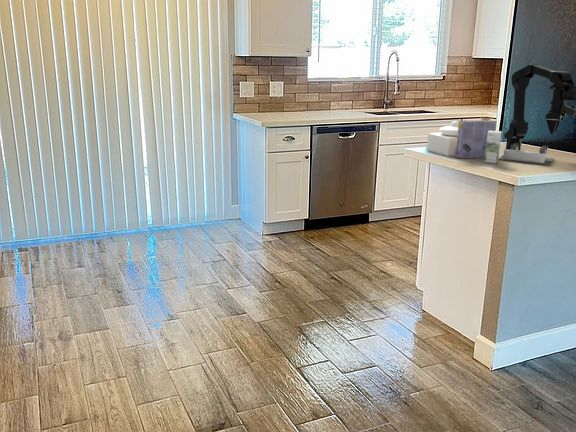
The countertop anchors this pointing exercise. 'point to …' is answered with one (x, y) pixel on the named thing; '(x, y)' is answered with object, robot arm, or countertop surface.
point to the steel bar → (525, 156)
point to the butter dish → (444, 140)
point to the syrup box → (493, 146)
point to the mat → (525, 161)
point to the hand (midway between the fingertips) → (553, 133)
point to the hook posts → (542, 150)
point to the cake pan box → (473, 138)
